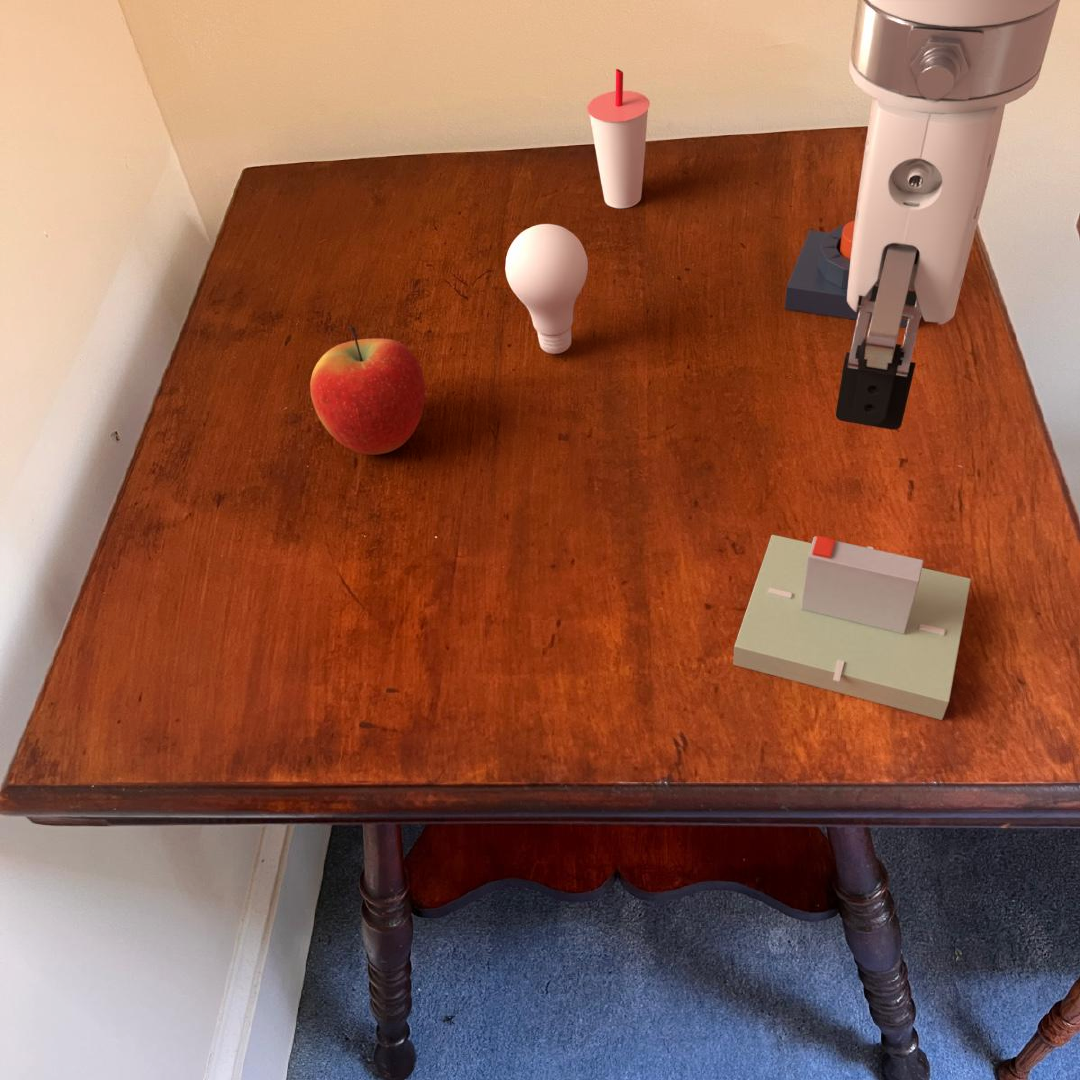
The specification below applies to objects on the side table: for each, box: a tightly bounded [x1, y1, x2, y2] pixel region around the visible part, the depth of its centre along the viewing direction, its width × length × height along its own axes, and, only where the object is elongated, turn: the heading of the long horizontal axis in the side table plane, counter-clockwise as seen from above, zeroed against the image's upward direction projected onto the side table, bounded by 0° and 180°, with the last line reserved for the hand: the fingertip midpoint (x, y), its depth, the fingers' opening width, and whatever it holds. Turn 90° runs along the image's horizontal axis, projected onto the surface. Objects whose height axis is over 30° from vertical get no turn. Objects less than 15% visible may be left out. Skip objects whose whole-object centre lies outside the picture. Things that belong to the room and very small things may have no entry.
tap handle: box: [801, 535, 924, 634], centre depth 59 cm, size 6×2×5 cm, turn 68°
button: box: [840, 219, 855, 260], centre depth 80 cm, size 4×4×2 cm
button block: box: [784, 224, 908, 328], centre depth 82 cm, size 10×8×4 cm
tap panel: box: [732, 534, 972, 721], centre depth 62 cm, size 12×10×2 cm
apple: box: [309, 325, 426, 456], centre depth 74 cm, size 8×8×10 cm
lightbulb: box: [504, 223, 589, 355], centre depth 78 cm, size 6×6×11 cm
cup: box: [586, 68, 651, 209], centre depth 91 cm, size 5×5×12 cm
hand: (883, 359), depth 55 cm, fingers open, 9 cm apart
